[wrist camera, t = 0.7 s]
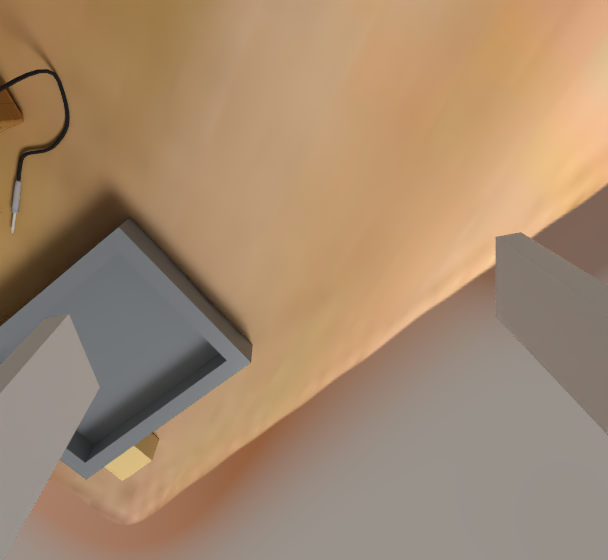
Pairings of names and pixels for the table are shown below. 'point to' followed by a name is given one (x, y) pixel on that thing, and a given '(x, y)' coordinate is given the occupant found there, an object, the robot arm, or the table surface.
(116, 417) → the tray
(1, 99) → the multimeter
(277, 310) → the table surface
